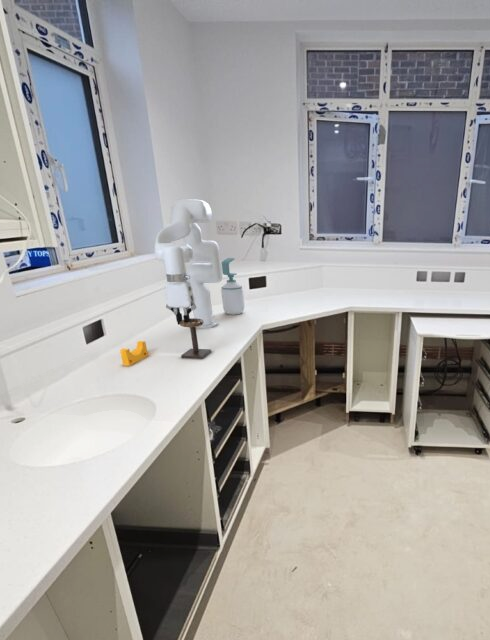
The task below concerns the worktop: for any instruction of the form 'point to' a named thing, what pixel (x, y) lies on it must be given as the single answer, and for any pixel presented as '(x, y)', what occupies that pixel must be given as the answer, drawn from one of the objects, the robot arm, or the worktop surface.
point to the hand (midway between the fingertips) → (183, 323)
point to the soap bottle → (231, 292)
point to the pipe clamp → (134, 354)
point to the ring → (192, 322)
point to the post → (195, 348)
